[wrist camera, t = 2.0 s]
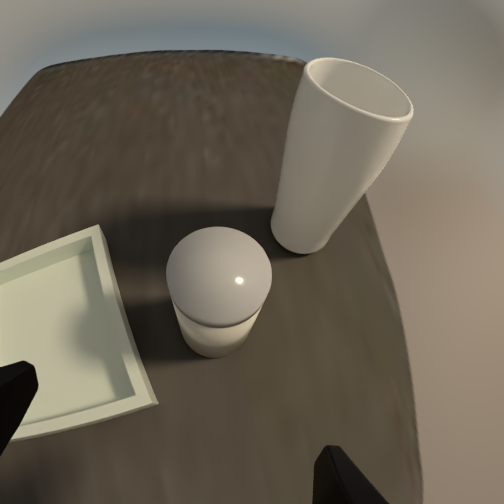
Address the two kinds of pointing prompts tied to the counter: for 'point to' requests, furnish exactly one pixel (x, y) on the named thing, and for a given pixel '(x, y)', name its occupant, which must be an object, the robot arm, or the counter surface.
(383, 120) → the drinking glass
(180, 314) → the shaker
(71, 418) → the tray
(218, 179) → the counter surface
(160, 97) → the counter surface
